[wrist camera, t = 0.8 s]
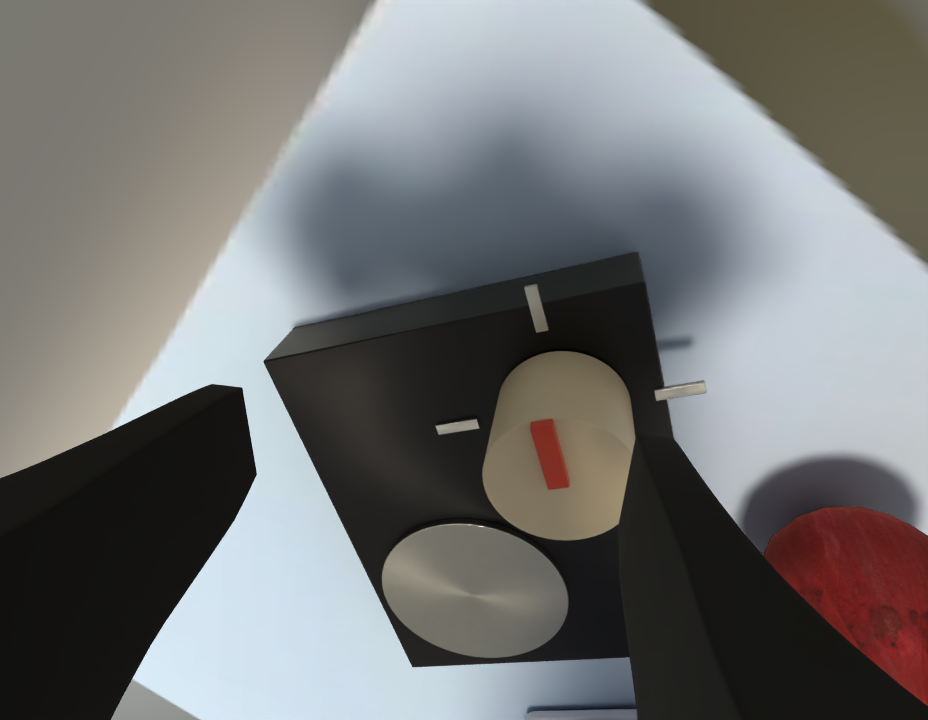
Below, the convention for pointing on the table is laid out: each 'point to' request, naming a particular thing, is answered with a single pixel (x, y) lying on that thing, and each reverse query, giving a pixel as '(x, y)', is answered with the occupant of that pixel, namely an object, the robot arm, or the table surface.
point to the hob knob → (560, 447)
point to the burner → (475, 588)
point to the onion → (863, 584)
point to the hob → (467, 422)
